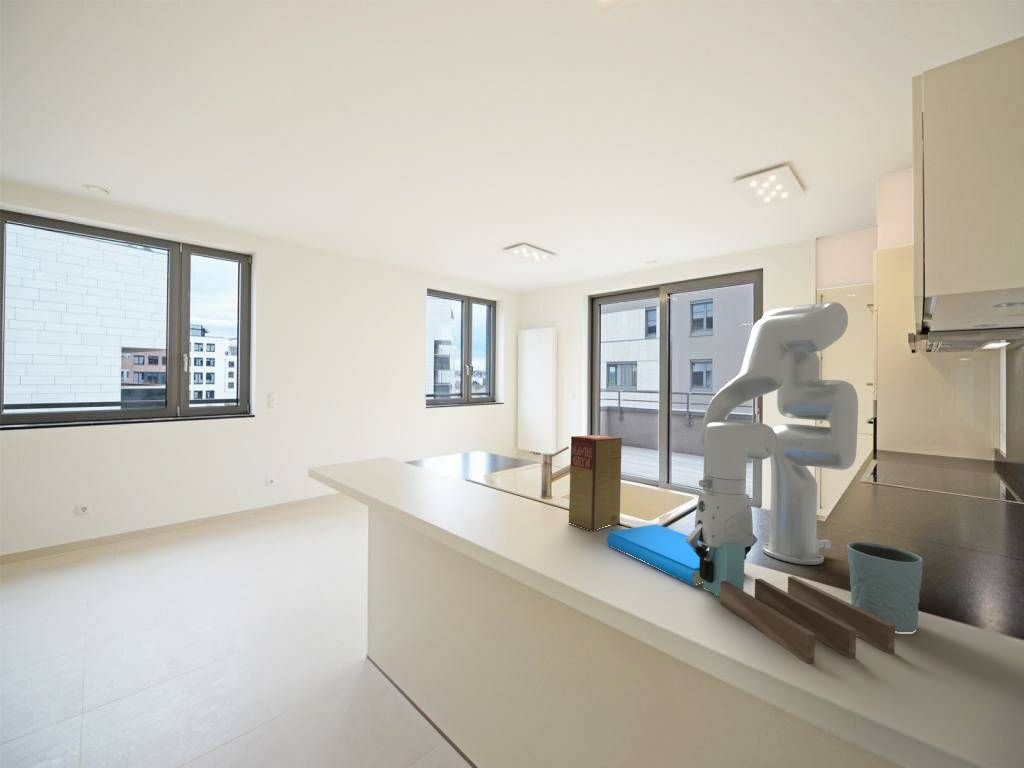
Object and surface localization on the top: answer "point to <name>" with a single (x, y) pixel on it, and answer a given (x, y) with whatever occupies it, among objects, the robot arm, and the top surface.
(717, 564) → the block
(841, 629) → the slot rack
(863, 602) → the blue plant pot
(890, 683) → the top surface
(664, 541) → the book
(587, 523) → the food packaging
